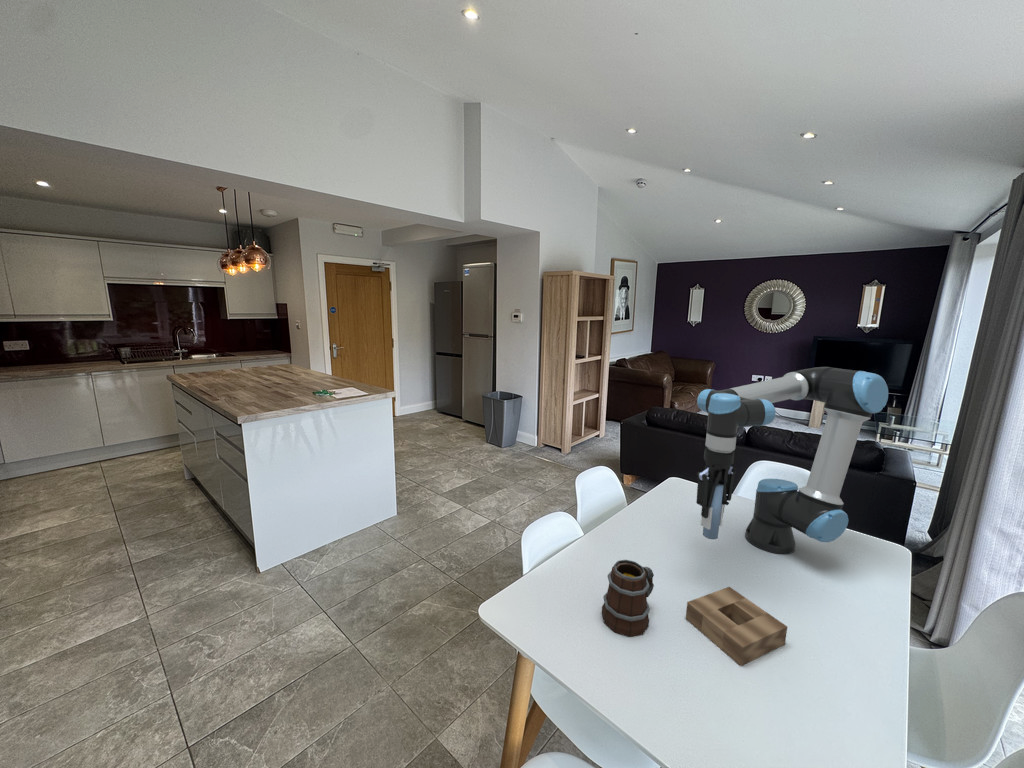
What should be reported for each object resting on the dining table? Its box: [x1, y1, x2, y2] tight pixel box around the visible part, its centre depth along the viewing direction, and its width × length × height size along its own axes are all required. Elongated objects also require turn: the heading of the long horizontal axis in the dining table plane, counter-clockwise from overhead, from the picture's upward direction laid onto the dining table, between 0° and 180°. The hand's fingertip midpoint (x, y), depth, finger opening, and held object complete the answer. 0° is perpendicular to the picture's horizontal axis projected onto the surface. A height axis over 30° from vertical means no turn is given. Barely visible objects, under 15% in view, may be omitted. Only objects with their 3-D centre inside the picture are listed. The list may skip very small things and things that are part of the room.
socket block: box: [685, 586, 788, 667], centre depth 104 cm, size 16×16×5 cm
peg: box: [702, 483, 724, 540], centre depth 118 cm, size 4×4×16 cm
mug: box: [601, 559, 655, 638], centre depth 107 cm, size 16×12×15 cm
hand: (711, 525), depth 119 cm, fingers closed on peg, 4 cm apart
